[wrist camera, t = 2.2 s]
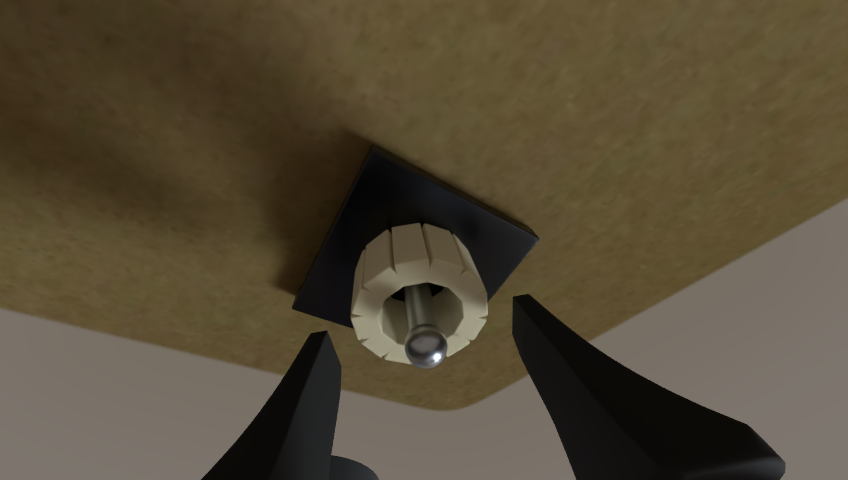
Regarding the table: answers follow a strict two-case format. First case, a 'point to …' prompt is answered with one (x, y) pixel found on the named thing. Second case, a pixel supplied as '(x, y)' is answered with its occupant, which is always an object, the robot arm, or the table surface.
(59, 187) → the table surface
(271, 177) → the table surface
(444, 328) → the beige ring
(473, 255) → the stand
